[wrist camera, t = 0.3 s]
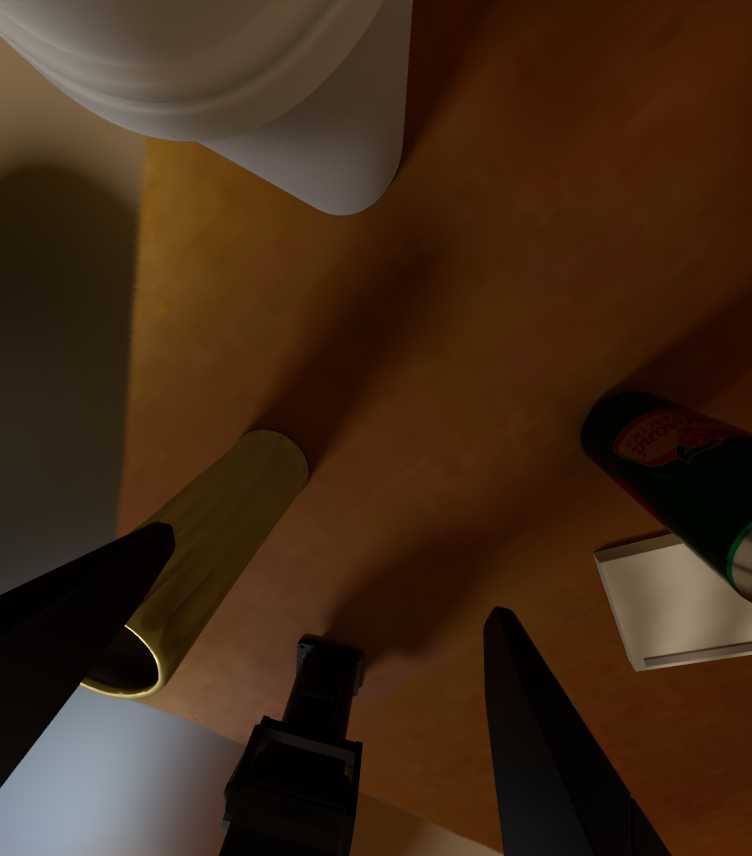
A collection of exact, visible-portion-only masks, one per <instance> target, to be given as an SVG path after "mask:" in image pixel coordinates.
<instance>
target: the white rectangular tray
mask: <svg viewBox="0 0 752 856" xmlns="http://www.w3.org/2000/svg"><path fill="white" fill-rule="evenodd" d="M593 555H594V558H595V561H596V564H597V567H598V570H599V573H600V576H601V579H602V582H603V585H604V588H605V591H606V594H607V597H608V600H609V603H610V606H611V608H612V611H613V614H614V617H615V620H616V623H617V626H618V629H619V632H620V635H621V638H622V641H623V644H624V647H625V650H626V653H627V656H628V659H629V661H630V662H631V664H632V666H633V667H634V669H635V671H643V670H650V669H656V668H663V667H670V666H677V665H683V664H690V663H697V662H704V661H710V660H717V659H724V658H731V657H738V656H744V655H751V654H752V603H751V602H749V601H747V600H746V599H744V598H743V597H741V596H740V595H739V594H738V593H737V592H736V591H734V590H733V589H732V588H731V587H730V586H729V585H728V584H727V583H726V582H725V581H724V580H722V579H721V578H720V577H719V576H718V575H717V574H716V573H715V572H714V571H713V570H711V569H710V568H709V567H708V566H707V565H706V564H705V563H704V562H703V561H702V560H701V559H699V558H698V557H697V556H696V555H695V554H694V553H693V552H692V551H691V550H690V549H688V548H687V547H686V546H685V545H684V544H683V543H682V542H681V541H680V540H679V539H678V538H676V537H675V536H674V535H673V534H668V535H664V536H660V537H656V538H651V539H647V540H643V541H639V542H635V543H631V544H627V545H623V546H619V547H615V548H611V549H607V550H603V551H599V552H595V553H593Z"/></svg>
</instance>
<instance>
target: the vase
mask: <svg viewBox="0 0 752 856" xmlns="http://www.w3.org/2000/svg"><path fill="white" fill-rule="evenodd" d="M307 480H308V464H307V461H306V458H305V456H304V454H303V452H302V451H301V449H300V448H299V447H298V446H297V445H296V444H295V443H294V442H293V441H292V440H291V439H289V438H288V437H286V436H285V435H283V434H281V433H278V432H275V431H271V430H256V431H252V432H249V433H246V434H245V435H243V436H242V437H241V438H239V439H238V441H237V442H236V443H235V444H234V446H233V447H232V448H231V449H230V450H229V451H228V452H227V453H225V454H224V455H223V456H222V457H221V458H220V459H218V460H217V461H216V462H215V463H213V464H212V465H211V466H210V467H208V468H207V469H206V470H205V471H203V472H202V473H201V474H200V475H199V476H197V477H196V478H195V479H194V480H193V481H192V482H190V483H189V484H188V485H187V486H186V487H184V488H183V489H182V490H181V491H180V492H178V493H177V494H176V495H175V496H174V497H173V498H171V499H170V500H169V501H168V502H167V503H166V504H164V505H163V506H162V507H161V508H160V509H159V510H158V511H156V512H155V513H154V514H153V515H152V516H151V517H150V518H148V519H147V520H146V521H144V522H143V523H142V524H140V525H139V526H138V527H136V528H135V529H134V530H133V531H131V532H130V533H132V532H134V531H136V530H138V529H140V528H142V527H144V526H146V525H148V524H151V523H153V522H157V521H158V522H163V523H167V524H170V525H171V526H172V527H173V532H174V537H175V543H176V546H175V550H174V552H173V554H172V556H171V557H170V559H169V560H168V562H167V564H166V565H165V567H164V568H163V570H162V572H161V573H160V575H159V576H158V578H157V579H156V581H155V583H154V584H153V586H152V587H151V589H150V590H149V592H148V594H147V595H146V597H145V598H144V600H143V601H142V603H141V604H140V606H139V607H138V609H137V610H136V611H135V613H134V614H133V615H132V617H131V618H130V619H129V621H128V622H127V623H126V625H125V626H124V627H123V629H122V630H121V631H120V632H119V634H118V635H117V636H116V638H115V639H114V640H113V642H112V643H111V644H110V646H109V647H108V648H107V649H106V651H105V652H104V653H103V655H102V656H101V657H100V659H99V660H98V661H97V663H96V664H95V665H94V666H93V668H92V669H91V670H90V672H89V673H88V674H87V676H86V677H85V678H84V679H83V681H82V682H81V683H80V685H81V686H83V687H85V688H88V689H90V690H92V691H95V692H97V693H100V694H103V695H106V696H109V697H115V698H121V699H143V698H147V697H150V696H152V695H154V694H156V693H157V692H159V691H160V690H161V689H162V688H163V687H164V686H165V685H166V684H167V683H168V681H169V680H170V678H171V677H172V675H173V674H174V672H175V671H176V669H177V668H178V666H179V665H180V663H181V662H182V660H183V659H184V657H185V656H186V654H187V653H188V651H189V650H190V648H191V647H192V645H193V644H194V642H195V641H196V639H197V638H198V636H199V635H200V633H201V632H202V630H203V629H204V627H205V626H206V624H207V623H208V622H209V620H210V619H211V617H212V616H213V614H214V613H215V611H216V610H217V608H218V607H219V605H220V604H221V602H222V601H223V599H224V598H225V596H226V595H227V594H228V592H229V591H230V589H231V588H232V586H233V585H234V583H235V582H236V581H237V579H238V578H239V576H240V575H241V573H242V572H243V571H244V569H245V568H246V566H247V565H248V563H249V562H250V561H251V559H252V558H253V556H254V555H255V553H256V552H257V550H258V549H259V548H260V546H261V545H262V543H263V542H264V541H265V539H266V538H267V536H268V535H269V534H270V532H271V531H272V529H273V528H274V526H275V525H276V524H277V522H278V521H279V520H280V518H281V517H282V516H283V514H284V513H285V512H286V510H287V509H288V508H289V506H290V505H291V503H292V502H293V500H294V499H295V498H296V496H297V495H298V494H299V493H300V492H301V491H302V490H303V489H304V487H305V485H306V483H307ZM130 533H129V534H130Z"/></svg>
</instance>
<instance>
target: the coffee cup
mask: <svg viewBox="0 0 752 856" xmlns="http://www.w3.org/2000/svg"><path fill="white" fill-rule="evenodd" d="M412 6H413V0H0V36H1V37H2V38H3V39H4V40H5V41H6V42H7V43H8V44H9V45H10V46H11V47H13V48H14V49H15V50H16V51H17V52H18V53H19V54H20V55H21V56H22V57H24V58H25V59H26V60H27V61H28V62H29V63H30V64H31V65H32V66H33V67H35V68H36V69H37V70H38V71H39V72H40V73H41V74H42V75H43V76H44V77H46V78H47V79H48V80H49V81H50V82H52V83H53V84H54V85H55V86H56V87H57V88H59V89H60V90H61V91H62V92H64V93H65V94H66V95H68V96H69V97H70V98H72V99H73V100H75V101H76V102H78V103H79V104H81V105H82V106H84V107H85V108H86V109H88V110H90V111H91V112H93V113H95V114H96V115H99V116H100V117H102V118H104V119H106V120H108V121H110V122H112V123H114V124H116V125H118V126H121V127H123V128H125V129H128V130H131V131H134V132H136V133H140V134H143V135H146V136H150V137H154V138H159V139H164V140H172V141H183V142H199V143H200V144H202V145H204V146H206V147H208V148H210V149H211V150H213V151H215V152H217V153H219V154H220V155H222V156H224V157H226V158H228V159H229V160H231V161H233V162H235V163H237V164H238V165H240V166H242V167H244V168H245V169H247V170H249V171H251V172H253V173H254V174H256V175H258V176H260V177H261V178H263V179H265V180H267V181H269V182H270V183H272V184H274V185H276V186H277V187H279V188H281V189H283V190H285V191H286V192H288V193H290V194H292V195H293V196H295V197H297V198H299V199H300V200H302V201H304V202H306V203H307V204H309V205H311V206H313V207H315V208H316V209H318V210H320V211H323V212H325V213H328V214H332V215H351V214H355V213H358V212H360V211H363V210H365V209H367V208H368V207H370V206H371V205H373V204H374V203H375V202H376V201H377V200H378V199H379V198H380V197H381V196H382V195H383V194H384V193H385V191H386V190H387V189H388V187H389V186H390V184H391V182H392V180H393V178H394V176H395V174H396V171H397V169H398V166H399V162H400V158H401V153H402V146H403V134H404V120H405V105H406V90H407V76H408V62H409V48H410V33H411V19H412Z"/></svg>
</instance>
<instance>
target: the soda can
mask: <svg viewBox="0 0 752 856" xmlns="http://www.w3.org/2000/svg"><path fill="white" fill-rule="evenodd" d="M581 445H582V448H583V450H584V452H585V454H586V455H587V456H588V457H589V458H590V459H591V460H592V461H593V462H594V463H595V464H596V465H598V466H599V467H600V468H601V469H602V470H603V471H604V472H605V473H606V474H607V475H608V476H610V477H611V478H612V479H613V480H614V481H615V482H616V483H617V484H618V485H619V486H621V487H622V488H623V489H624V490H625V491H626V492H627V493H628V494H629V495H630V496H631V497H633V498H634V499H635V500H636V501H637V502H638V503H639V504H640V505H641V506H642V507H644V508H645V509H646V510H647V511H648V512H649V513H650V514H651V515H652V516H653V517H655V518H656V519H657V520H658V521H659V522H660V523H661V524H662V525H663V526H664V527H665V528H667V529H668V530H669V531H670V532H671V533H672V534H673V535H674V536H675V537H676V538H678V539H679V540H680V541H681V542H682V543H683V544H684V545H685V546H686V547H687V548H688V549H690V550H691V551H692V552H693V553H694V554H695V555H696V556H697V557H698V558H699V559H701V560H702V561H703V562H704V563H705V564H706V565H707V566H708V567H709V568H710V569H711V570H713V571H714V572H715V573H716V574H717V575H718V576H719V577H720V578H721V579H722V580H724V581H725V582H726V583H727V584H728V585H729V586H730V587H731V588H732V589H733V590H734V591H736V592H737V593H738V594H739V595H740V596H741V597H743V598H744V599H746V600H747V601H749V602H751V603H752V433H751V432H748V431H746V430H743V429H741V428H738V427H736V426H733V425H731V424H728V423H725V422H723V421H720V420H718V419H715V418H713V417H710V416H707V415H705V414H702V413H700V412H697V411H695V410H692V409H689V408H687V407H684V406H682V405H679V404H677V403H674V402H671V401H669V400H666V399H664V398H661V397H659V396H656V395H654V394H651V393H647V392H638V391H636V392H626V393H621V394H618V395H615V396H613V397H611V398H608V399H607V400H605V401H603V402H602V403H600V404H599V405H598V406H597V407H595V408H594V410H593V411H592V412H591V413H590V414H589V415H588V417H587V418H586V420H585V422H584V424H583V427H582V430H581Z"/></svg>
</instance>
